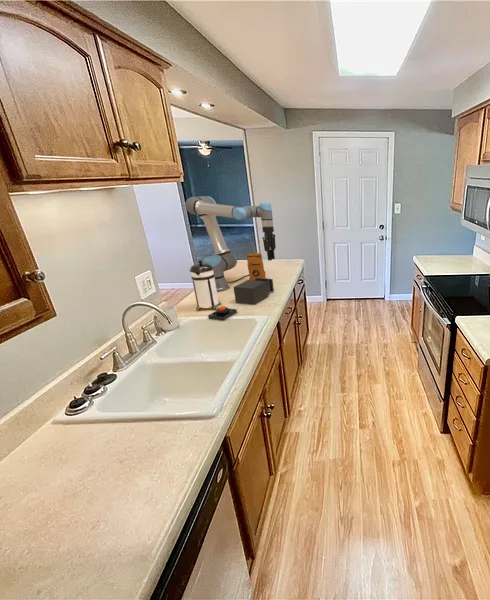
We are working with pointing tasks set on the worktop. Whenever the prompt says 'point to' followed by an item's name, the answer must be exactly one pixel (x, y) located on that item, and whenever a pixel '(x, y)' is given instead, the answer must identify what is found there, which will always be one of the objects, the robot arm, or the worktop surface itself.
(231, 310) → the panel
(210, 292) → the coffee press
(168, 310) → the mug
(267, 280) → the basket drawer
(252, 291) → the dark grey box
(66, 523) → the worktop surface
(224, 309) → the button
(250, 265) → the coffee package
